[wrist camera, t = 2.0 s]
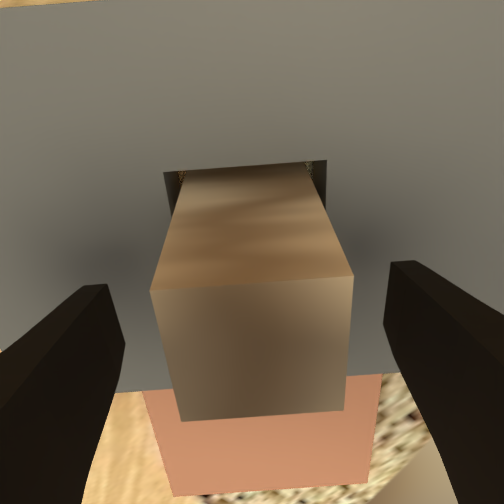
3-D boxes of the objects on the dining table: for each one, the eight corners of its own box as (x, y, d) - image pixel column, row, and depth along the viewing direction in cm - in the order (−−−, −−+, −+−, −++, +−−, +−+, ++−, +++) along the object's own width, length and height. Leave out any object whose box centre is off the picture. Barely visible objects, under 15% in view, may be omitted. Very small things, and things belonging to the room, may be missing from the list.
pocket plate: (566, -33, 12) (637, -42, 10) (469, 325, 19) (498, 365, 17) (-100, 18, 12) (-171, 21, 10) (49, 356, 19) (26, 399, 17)
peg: (299, 151, 15) (353, 275, 8) (300, 246, 17) (343, 410, 10) (189, 160, 15) (149, 290, 8) (203, 253, 17) (181, 422, 10)
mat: (380, 362, 20) (383, 368, 20) (365, 476, 26) (367, 483, 25) (141, 379, 20) (140, 385, 20) (174, 490, 26) (173, 496, 25)
